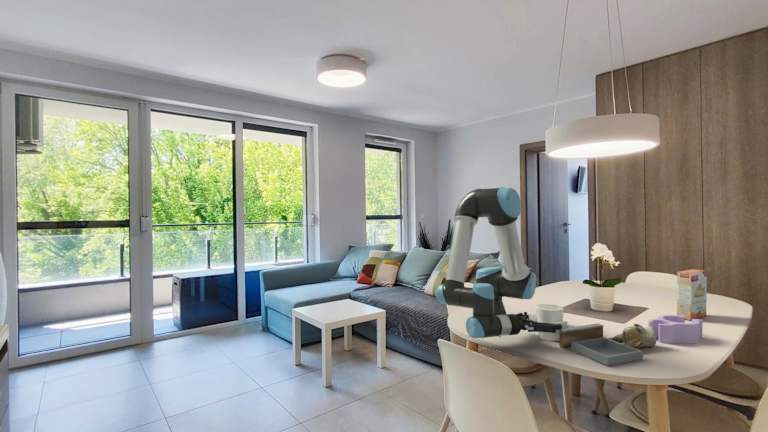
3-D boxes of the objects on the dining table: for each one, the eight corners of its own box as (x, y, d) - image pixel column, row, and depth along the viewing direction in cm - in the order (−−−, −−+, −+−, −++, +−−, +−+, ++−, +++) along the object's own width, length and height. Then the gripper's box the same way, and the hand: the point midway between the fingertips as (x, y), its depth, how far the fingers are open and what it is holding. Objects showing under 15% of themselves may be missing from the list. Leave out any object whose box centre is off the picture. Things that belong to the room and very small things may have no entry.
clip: (671, 347, 138) (671, 327, 138) (638, 336, 150) (638, 318, 150) (710, 340, 144) (709, 321, 144) (675, 330, 156) (675, 313, 156)
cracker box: (692, 321, 167) (691, 273, 166) (676, 318, 172) (676, 271, 172) (707, 316, 173) (707, 270, 173) (692, 313, 179) (691, 268, 178)
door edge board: (559, 346, 140) (558, 328, 140) (598, 340, 145) (598, 323, 145) (564, 349, 138) (563, 330, 137) (603, 342, 143) (603, 325, 143)
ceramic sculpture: (666, 325, 134) (627, 331, 132) (667, 350, 134) (629, 356, 132) (641, 317, 144) (605, 322, 142) (643, 340, 144) (607, 345, 142)
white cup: (541, 332, 157) (540, 302, 157) (567, 336, 151) (566, 306, 150) (533, 338, 149) (532, 307, 149) (560, 343, 143) (559, 311, 143)
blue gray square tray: (571, 350, 136) (571, 342, 136) (604, 345, 141) (604, 337, 141) (607, 366, 122) (607, 357, 122) (643, 360, 126) (643, 351, 126)
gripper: (488, 326, 156) (533, 322, 162) (527, 345, 132) (578, 339, 138) (488, 307, 156) (533, 304, 162) (527, 323, 132) (578, 318, 138)
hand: (554, 320), depth 150 cm, fingers open, 13 cm apart
